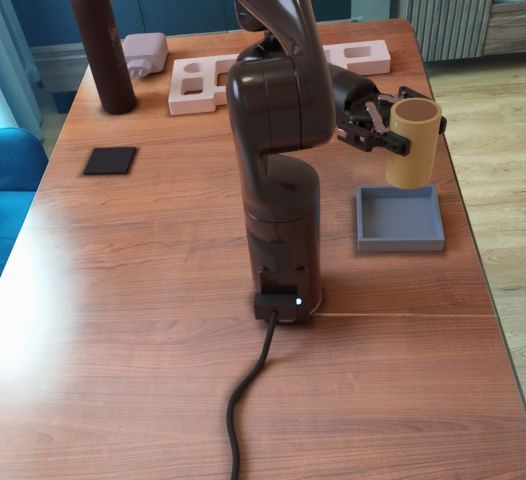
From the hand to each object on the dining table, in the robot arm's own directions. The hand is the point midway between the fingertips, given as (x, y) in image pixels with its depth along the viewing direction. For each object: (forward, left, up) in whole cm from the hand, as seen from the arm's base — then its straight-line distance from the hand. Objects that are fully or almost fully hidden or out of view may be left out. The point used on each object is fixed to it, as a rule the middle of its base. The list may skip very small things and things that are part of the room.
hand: (426, 137), depth 78 cm
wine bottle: (+40, +56, -15) cm, 71 cm away
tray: (+1, +2, -15) cm, 15 cm away
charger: (+55, +55, -15) cm, 79 cm away
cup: (+2, +2, -7) cm, 7 cm away
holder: (+47, +23, -15) cm, 54 cm away
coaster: (+20, +53, -15) cm, 59 cm away
